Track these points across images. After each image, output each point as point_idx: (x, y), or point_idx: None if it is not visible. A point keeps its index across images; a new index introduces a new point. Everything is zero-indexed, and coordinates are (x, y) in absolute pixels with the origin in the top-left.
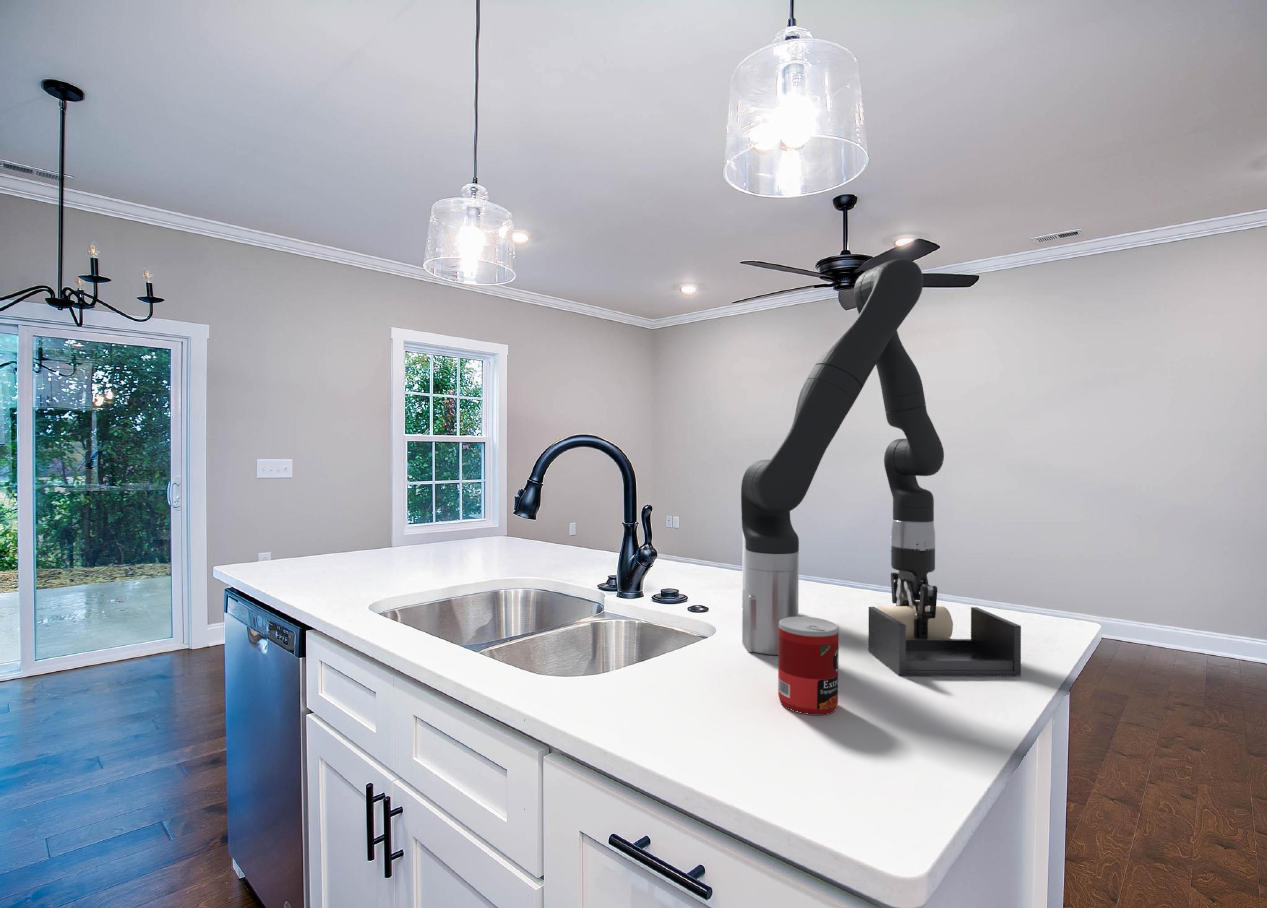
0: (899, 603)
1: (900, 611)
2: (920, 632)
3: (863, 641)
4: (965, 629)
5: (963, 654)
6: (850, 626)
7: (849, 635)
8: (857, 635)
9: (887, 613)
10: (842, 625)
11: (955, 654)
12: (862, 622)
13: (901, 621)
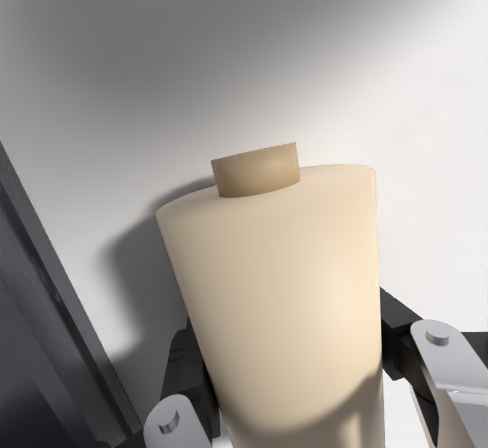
0: (430, 364)
1: (237, 345)
2: (170, 353)
3: (169, 79)
4: (391, 438)
5: (31, 435)
6: (423, 69)
7: (265, 22)
8: (273, 70)
9: (192, 241)
10: (440, 27)
11: (17, 414)
12: (480, 144)
13: (187, 306)
